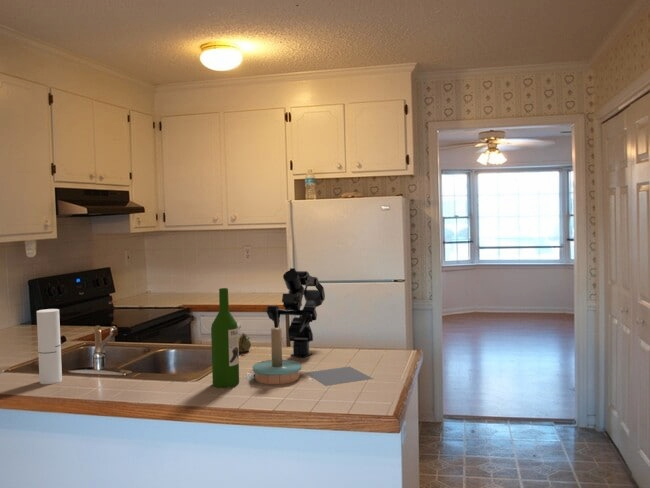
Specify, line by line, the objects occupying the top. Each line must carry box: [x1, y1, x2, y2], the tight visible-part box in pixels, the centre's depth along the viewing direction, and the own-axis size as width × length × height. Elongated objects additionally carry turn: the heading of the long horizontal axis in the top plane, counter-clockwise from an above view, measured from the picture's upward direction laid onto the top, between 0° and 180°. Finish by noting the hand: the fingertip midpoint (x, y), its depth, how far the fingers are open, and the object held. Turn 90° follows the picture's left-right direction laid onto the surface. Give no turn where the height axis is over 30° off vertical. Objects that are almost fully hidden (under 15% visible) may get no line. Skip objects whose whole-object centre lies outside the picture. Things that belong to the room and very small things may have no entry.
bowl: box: [254, 370, 300, 385], centre depth 205 cm, size 15×15×4 cm
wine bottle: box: [210, 287, 240, 389], centre depth 199 cm, size 9×9×32 cm
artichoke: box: [238, 332, 252, 353], centre depth 247 cm, size 8×8×8 cm
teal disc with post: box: [252, 327, 303, 375], centre depth 205 cm, size 17×17×14 cm
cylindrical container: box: [36, 308, 63, 385], centre depth 206 cm, size 7×7×25 cm
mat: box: [305, 366, 374, 387], centre depth 207 cm, size 18×18×1 cm
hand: (287, 331), depth 219 cm, fingers open, 9 cm apart
